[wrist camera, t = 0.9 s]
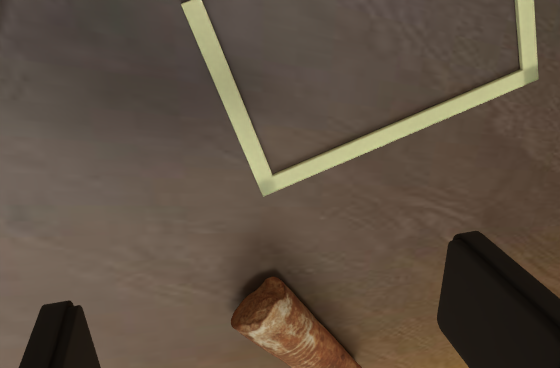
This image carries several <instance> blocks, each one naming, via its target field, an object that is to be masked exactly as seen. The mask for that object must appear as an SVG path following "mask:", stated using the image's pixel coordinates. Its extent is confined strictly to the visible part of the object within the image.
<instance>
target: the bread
mask: <svg viewBox="0 0 560 368" xmlns="http://www.w3.org/2000/svg"><path fill="white" fill-rule="evenodd" d="M231 325H232V327H233V328H234V329H236V330H238V331H239V332H240V333H241V334H242V335H244V336H245V337H246V338H248V339H249V340H251V341H252V342H254V343H256V344H257V345H259V346H260V347H262V348H263V349H265V350H266V351H268V352H269V353H271V354H273V355H274V356H276V357H278V358H279V359H281V360H282V361H284V362H285V363H286V364H288V365H289V366H291V367H293V368H362V367H361V366H360V365H359V364H358V363H357V362H356V361H355V360H354V359H353V358H352V357H351V356H350V355H349V354H348V352H347V351H346V350H345V349H344V348H343V347H342V346H341V345H340V344H339V343H338V342H337V340H336V339H335V338H334V337H333V336H332V335H331V334H330V333H329V332H328V331H327V329H326V328H325V327H324V326H322V325H321V324H320V323H319V322H318V321H317V320H316V318H315V317H314V316H313V315H312V314H311V313H310V311H309V310H308V309H307V308H306V307H305V305H304V304H303V303H302V302H301V301H300V300H299V299H298V298H297V297H296V296H295V294H294V293H293V292H292V291H291V290H290V289H289V288H288V287H287V286H286V285H285V284H284V283H283V282H282V281H281V280H280V279H279V278H276V277H270V278H267V279H266V280H265V281H264V283H263V284H262V285H261V286H260V287H259V288H258V289H257V290H256V291H254V292H253V293H251V294H249V295H248V296H247V297H246V298H245V299H244V300H243V301H242V302H241V303H240V305H239V306H238V308H237V309H236V310H235V312H234V313H233V316H232V319H231Z"/></svg>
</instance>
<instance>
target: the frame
mask: <svg viewBox="0 0 560 368" xmlns="http://www.w3.org/2000/svg"><path fill="white" fill-rule="evenodd" d="M181 6H182V8H183V11H184V13H185V15H186V18H187V20H188V22H189V25H190V27H191V29H192V32H193V34H194V36H195V39H196V41H197V43H198V46H199V48H200V50H201V53H202V55H203V57H204V60H205V62H206V64H207V67H208V69H209V71H210V74H211V76H212V78H213V81H214V83H215V85H216V88H217V90H218V92H219V95H220V97H221V100H222V102H223V104H224V107H225V109H226V111H227V114H228V116H229V118H230V121H231V123H232V125H233V128H234V130H235V132H236V135H237V137H238V139H239V142H240V144H241V146H242V149H243V151H244V153H245V156H246V158H247V160H248V163H249V165H250V167H251V170H252V172H253V174H254V177H255V179H256V181H257V184H258V186H259V188H260V191H261V193H262V195H263V196H265V195H268V194H270V193H272V192H275V191H277V190H280V189H282V188H284V187H287V186H289V185H291V184H294V183H296V182H298V181H301V180H303V179H305V178H308V177H310V176H312V175H315V174H317V173H319V172H322V171H324V170H326V169H329V168H331V167H333V166H336V165H338V164H341V163H343V162H345V161H348V160H350V159H352V158H355V157H357V156H359V155H362V154H364V153H366V152H369V151H371V150H373V149H376V148H378V147H380V146H383V145H385V144H387V143H390V142H392V141H395V140H397V139H399V138H402V137H404V136H406V135H409V134H411V133H413V132H416V131H418V130H420V129H423V128H425V127H427V126H430V125H432V124H434V123H437V122H439V121H441V120H444V119H446V118H449V117H451V116H453V115H456V114H458V113H460V112H463V111H465V110H467V109H470V108H472V107H474V106H477V105H479V104H481V103H484V102H486V101H488V100H491V99H493V98H495V97H498V96H500V95H503V94H505V93H507V92H510V91H512V90H514V89H517V88H519V87H521V86H524V85H526V84H528V83H531V82H533V81H535V80H538V63H537V46H536V29H535V12H534V0H515V11H516V24H517V36H518V49H519V62H520V70H518V71H515V72H513V73H511V74H508V75H506V76H503V77H501V78H499V79H496V80H494V81H492V82H489V83H487V84H485V85H482V86H480V87H478V88H475V89H473V90H470V91H468V92H466V93H463V94H461V95H459V96H456V97H454V98H452V99H449V100H447V101H445V102H442V103H440V104H437V105H435V106H433V107H430V108H428V109H426V110H423V111H421V112H419V113H416V114H414V115H412V116H409V117H407V118H404V119H402V120H400V121H397V122H395V123H393V124H390V125H388V126H386V127H383V128H381V129H379V130H376V131H374V132H371V133H369V134H367V135H364V136H362V137H360V138H357V139H355V140H353V141H350V142H348V143H346V144H343V145H341V146H338V147H336V148H334V149H331V150H329V151H327V152H324V153H322V154H320V155H317V156H315V157H312V158H310V159H308V160H305V161H303V162H301V163H298V164H296V165H294V166H291V167H289V168H287V169H284V170H282V171H279V172H277V173H275V174H272V173H271V170H270V168H269V165H268V163H267V160H266V158H265V156H264V153H263V151H262V148H261V146H260V143H259V141H258V138H257V136H256V133H255V131H254V128H253V126H252V123H251V121H250V118H249V116H248V113H247V111H246V108H245V106H244V104H243V101H242V99H241V96H240V94H239V91H238V89H237V86H236V84H235V81H234V79H233V76H232V74H231V71H230V69H229V66H228V64H227V61H226V59H225V56H224V54H223V52H222V49H221V47H220V44H219V42H218V39H217V37H216V34H215V32H214V29H213V27H212V24H211V22H210V19H209V17H208V14H207V12H206V9H205V7H204V4H203V2H202V0H189V1H187V2H184V3H182V4H181Z"/></svg>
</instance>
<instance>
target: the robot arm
mask: <svg viewBox="0 0 560 368" xmlns="http://www.w3.org/2000/svg"><path fill="white" fill-rule="evenodd" d="M437 321H438V325H439V327H440V329H441V331H442V332H443V334H444V335H445V336H446V338H447V339H448V340H449V342H450V343H451V344H452V346H453V347H454V348H455V349H456V351H457V352H458V353H459V355H460V356H461V357H462V359H463V360H464V361H465V363H466V364H467V365H468V367H469V368H560V299H559V298H558V297H557V296H556V295H555V294H553V293H552V292H551V291H550V290H549V289H547V288H546V287H545V286H544V285H543V284H541V283H540V282H539V281H538V280H537V279H536V278H534V277H533V276H532V275H531V274H530V273H528V272H527V271H526V270H525V269H524V268H522V267H521V266H520V265H519V264H518V263H516V262H515V261H514V260H513V259H512V258H510V257H509V256H508V255H507V254H506V253H505V252H503V251H502V250H501V249H500V248H499V247H497V246H496V245H495V244H494V243H493V242H491V241H490V240H489V239H488V238H487V237H485V236H484V235H483V234H482V233H480V232H479V231H472V232H467V233H461V234H457V235H455V236H454V238H453V240H452V241H450V242H449V244H448V249H447V256H446V262H445V269H444V275H443V282H442V288H441V294H440V301H439V307H438V314H437ZM19 368H101V367H100V364H99V361H98V357H97V354H96V351H95V348H94V344H93V341H92V338H91V334H90V331H89V328H88V325H87V321H86V318H85V315H84V312H83V309H82V307H81V306H80V305H78V306H74V305H73V303H72V302H71V301H63V302H58V303H52V304H46V305H43V306H42V307H41V309H40V312H39V315H38V317H37V320H36V323H35V326H34V328H33V331H32V334H31V336H30V339H29V342H28V344H27V347H26V350H25V352H24V355H23V358H22V361H21V363H20V366H19Z"/></svg>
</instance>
